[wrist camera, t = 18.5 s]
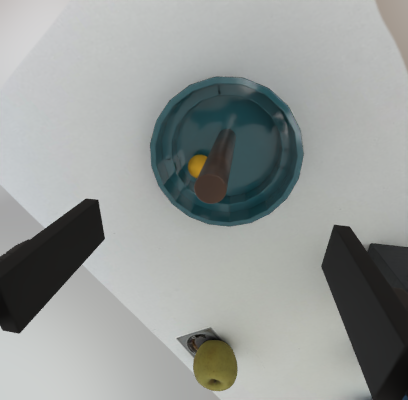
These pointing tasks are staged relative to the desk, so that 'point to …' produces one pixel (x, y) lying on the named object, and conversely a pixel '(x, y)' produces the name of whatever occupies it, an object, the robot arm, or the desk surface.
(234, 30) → the desk surface
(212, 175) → the stick
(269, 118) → the bowl
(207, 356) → the apple
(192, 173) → the ball
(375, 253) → the holder
